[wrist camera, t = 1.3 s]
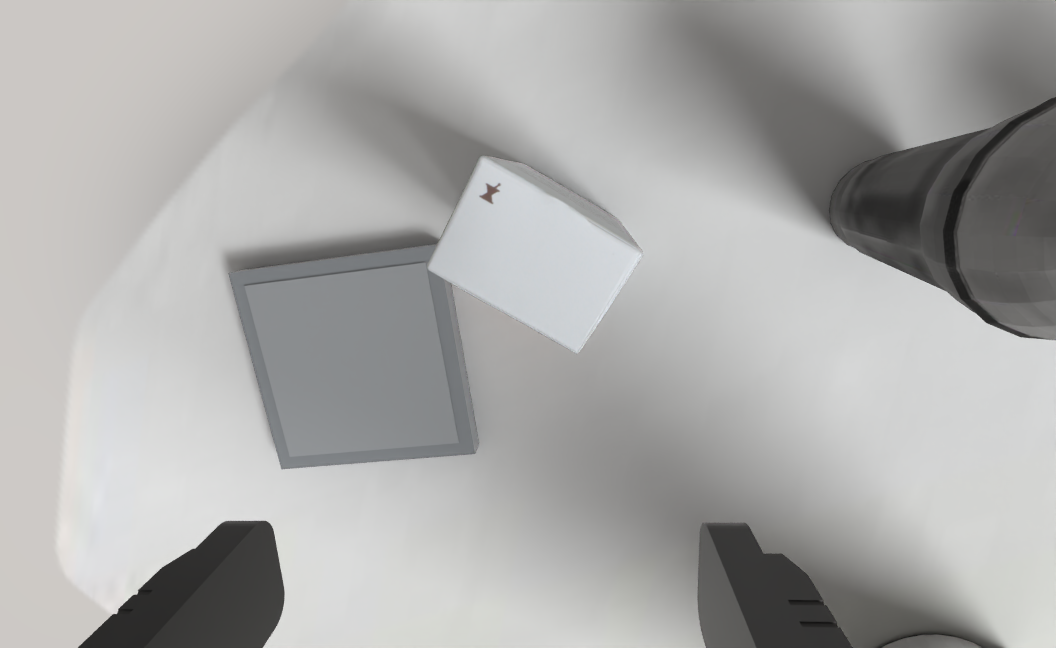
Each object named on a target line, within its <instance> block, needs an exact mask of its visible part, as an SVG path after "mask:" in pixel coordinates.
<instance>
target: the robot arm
mask: <svg viewBox="0 0 1056 648" xmlns="http://www.w3.org/2000/svg"><path fill="white" fill-rule="evenodd" d="M283 605H284V585H283V580H282V574H281V569H280V563H279V558H278V552H277V547H276V541H275V536H274V531H273V528H272V526H271V525H270V523H269V522H267V521H225V522H223V523H221V524H220V525H219V526H218V527H217V528H216V529H215V530H214V531H213V532H212V533H211V534H210V535H209V536H208V537H207V538H206V539H205V540H204V541H203V542H202V543H201V544H200V545H199V546H198V547H197V548H196V549H192V550H190V551H188V552H187V553H185V554H183V555H182V556H180V557H179V558H177V559H175V560H174V561H172V562H171V563H169V564H167V565H166V566H164V567H162V568H161V569H160V570H159V571H158V572H157V573H156V574H155V575H154V576H153V577H152V578H151V579H150V580H149V581H148V582H146V583H145V584H144V585H143V586H142V587H141V588H140V589H139V590H138V594H137V595H133V596H132V597H131V598H130V599H129V600H128V601H126V602H125V603H124V604H123V605H122V606H121V607H120V608H119V609H118V613H117V614H113V615H112V616H111V617H110V618H109V619H108V620H106V621H105V622H104V623H103V624H102V625H101V626H100V627H99V628H98V629H97V630H96V631H95V632H94V633H93V634H92V635H91V636H90V637H89V638H88V639H86V640H85V641H84V642H83V643H82V644H81V645H80V646H79V647H78V648H263V646H264V645H265V643H266V642H267V640H268V639H269V637H270V636H271V634H272V632H273V631H274V629H275V628H276V626H277V624H278V622H279V620H280V617H281V614H282V610H283ZM698 612H699V620H700V626H701V631H702V635H703V639H704V642H705V646H706V648H852V646H851V645H850V643H849V641H848V640H847V638H846V637H845V635H844V633H843V632H842V630H841V628H838V627H837V622H836V620H835V619H834V617H833V615H832V614H831V612H830V611H829V609H828V607H827V606H826V605H824V603H823V599H822V598H821V596H820V594H819V593H818V591H817V589H816V588H815V586H814V584H813V583H812V581H811V580H810V578H809V576H808V575H807V574H806V573H805V572H803V571H802V570H801V569H800V568H799V567H797V566H796V565H795V564H794V563H793V562H791V561H790V560H789V559H788V558H787V557H785V556H784V555H783V554H763V552H762V550H761V548H760V546H759V545H758V543H757V541H756V539H755V537H754V535H753V533H752V531H751V529H750V528H749V526H748V525H747V524H746V523H702V525H701V529H700V543H699V571H698ZM882 648H982V647H980V646H978V645H976V644H975V643H973V642H970V641H967V640H964V639H961V638H958V637H952V636H945V635H919V636H914V637H908V638H904V639H901V640H898V641H895V642H892V643H890V644H887V645H886V646H884V647H882Z"/></svg>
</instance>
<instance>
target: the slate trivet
mask: <svg viewBox="0 0 1056 648" xmlns="http://www.w3.org/2000/svg"><path fill="white" fill-rule="evenodd" d="M436 246H437V244H431V245H423V246H416V247H408V248H401V249H393V250H386V251H378V252H371V253H363V254H356V255H348V256H341V257H333V258H326V259H318V260H311V261H304V262H296V263H289V264H281V265H274V266H266V267H259V268H251V269H244V270H239V271H235V272H231V273H229V277H230V281H231V284H232V288H233V292H234V295H235V299H236V303H237V306H238V310H239V314H240V318H241V321H242V325H243V329H244V332H245V336H246V340H247V343H248V347H249V351H250V355H251V358H252V362H253V366H254V369H255V373H256V377H257V380H258V384H259V388H260V392H261V395H262V399H263V403H264V406H265V410H266V414H267V417H268V421H269V425H270V429H271V432H272V436H273V440H274V443H275V447H276V451H277V454H278V458H279V462H280V465H281V469H290V468H303V467H315V466H328V465H341V464H353V463H366V462H378V461H391V460H404V459H416V458H429V457H441V456H454V455H467V454H475V453H476V450H477V448H478V446H479V441H478V435H477V429H476V424H475V418H474V412H473V407H472V401H471V395H470V389H469V384H468V378H467V372H466V367H465V361H464V355H463V349H462V344H461V338H460V332H459V326H458V321H457V315H456V309H455V304H454V298H453V292H452V286H451V283H450V282H448V281H446V280H445V279H443V278H441V277H440V276H438V275H436V274H435V273H433V272H431V271H429V270H428V268H427V264H428V262H429V260H430V258H431V256H432V254H433V252H434V250H435V248H436Z"/></svg>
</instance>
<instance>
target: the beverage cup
mask: <svg viewBox="0 0 1056 648" xmlns="http://www.w3.org/2000/svg"><path fill="white" fill-rule="evenodd" d="M829 212H830V220H831V224H832V226H833V228H834V230H835V232H836V234H837V236H838V237H839V238H840V239H842V240H843V241H844V242H845V243H846V244H847V245H849V246H852V247H854V248H856V249H857V250H858V251H859V252H861V253H863V254H865V255H868V256H870V257H872V258H874V259H876V260H879V261H881V262H883V263H885V264H887V265H890V266H892V267H894V268H896V269H898V270H901V271H903V272H905V273H907V274H909V275H912V276H914V277H916V278H918V279H920V280H923V281H925V282H927V283H929V284H931V285H934V286H936V287H938V288H940V289H942V290H945V291H947V292H948V293H949V294H950V295H951V296H953V297H954V298H955V299H956V300H957V301H959V302H960V303H961V304H963V305H964V306H966V307H967V308H969V309H970V310H971V311H973V312H975V313H976V314H977V315H978V316H980V317H981V318H982V319H983V320H984V321H985V322H986V323H988V324H990V325H993V326H995V327H997V328H1000V329H1002V330H1005V331H1007V332H1010V333H1012V334H1014V335H1017V336H1019V337H1025V338H1037V339H1048V340H1056V97H1055V98H1052V99H1050V100H1048V101H1046V102H1044V103H1043V104H1041V105H1039V106H1037V107H1035V108H1034V109H1031V110H1028V111H1026V112H1024V113H1021V114H1019V115H1017V116H1014V117H1012V118H1009V119H1007V120H1005V121H1003V122H1001V123H999V124H997V125H996V126H994V127H992V128H989V129H985V130H981V131H977V132H973V133H969V134H965V135H961V136H957V137H954V138H950V139H946V140H942V141H938V142H934V143H930V144H926V145H922V146H919V147H915V148H911V149H907V150H903V151H899V152H895V153H891V154H887V155H883V156H880V157H878V158H877V159H874V160H870V161H866V162H864V163H862V164H860V165H858V166H857V167H855V168H853V169H851V170H850V171H849V172H848V173H847V174H846V175H845V176H844V177H843V178H842V179H841V180H840V182H839V183H838V185H837V187H836V189H835V191H834V193H833V194H832V198H831V203H830V208H829Z"/></svg>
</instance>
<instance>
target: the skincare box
mask: <svg viewBox="0 0 1056 648" xmlns="http://www.w3.org/2000/svg"><path fill="white" fill-rule="evenodd" d="M642 257H643V251H642V250H641V249H640V247H639V246H638V245H637V243H636V242H635V240H634V239H633V238H632V236H631V235H630V234H629V232H628V231H627V230H626V229H625V227H624V226H623V225H622V223H621V222H620V221H619V220H618V219H617V218H615V217H614V216H612V215H610V214H609V213H607V212H606V211H604V210H602V209H601V208H599V207H597V206H596V205H594V204H592V203H591V202H589V201H587V200H586V199H584V198H582V197H581V196H579V195H577V194H576V193H574V192H572V191H571V190H569V189H567V188H565V187H564V186H562V185H560V184H558V183H557V182H555V181H553V180H552V179H550V178H548V177H546V176H545V175H543V174H541V173H539V172H538V171H536V170H534V169H532V168H531V167H529V166H527V165H526V164H523V163H519V162H513V161H508V160H504V159H499V158H496V157H491V156H480V157H479V159H478V161H477V163H476V165H475V168H474V170H473V172H472V174H471V176H470V178H469V180H468V182H467V184H466V186H465V188H464V191H463V193H462V195H461V197H460V199H459V201H458V203H457V205H456V207H455V209H454V211H453V213H452V215H451V217H450V219H449V221H448V223H447V225H446V227H445V229H444V232H443V234H442V236H441V238H440V240H439V242H438V244H437V246H436V248H435V250H434V252H433V254H432V256H431V258H430V260H429V262H428V264H427V268H428V270H429V271H431V272H433V273H435V274H436V275H438V276H440V277H441V278H443V279H445V280H446V281H448V282H450V283H452V284H453V285H455V286H457V287H459V288H460V289H462V290H464V291H465V292H467V293H469V294H471V295H472V296H474V297H476V298H477V299H479V300H481V301H483V302H485V303H486V304H488V305H490V306H492V307H494V308H496V309H497V310H499V311H501V312H503V313H505V314H507V315H508V316H510V317H512V318H514V319H516V320H518V321H519V322H521V323H523V324H525V325H527V326H528V327H530V328H532V329H534V330H535V331H537V332H539V333H541V334H542V335H544V336H546V337H548V338H550V339H551V340H553V341H555V342H557V343H559V344H560V345H562V346H564V347H565V348H567V349H569V350H571V351H572V352H574V353H576V354H577V353H579V352H580V351H581V349H582V348H583V346H584V345H585V343H586V342H587V340H588V339H589V337H590V336H591V334H592V333H593V331H594V330H595V328H596V327H597V325H598V324H599V322H600V321H601V319H602V318H603V316H604V315H605V313H606V312H607V310H608V309H609V307H610V306H611V304H612V303H613V301H614V300H615V298H616V297H617V295H618V294H619V292H620V291H621V289H622V287H623V286H624V284H625V283H626V281H627V280H628V278H629V277H630V275H631V274H632V272H633V271H634V269H635V267H636V266H637V264H638V263H639V261H640V260H641V258H642Z"/></svg>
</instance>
